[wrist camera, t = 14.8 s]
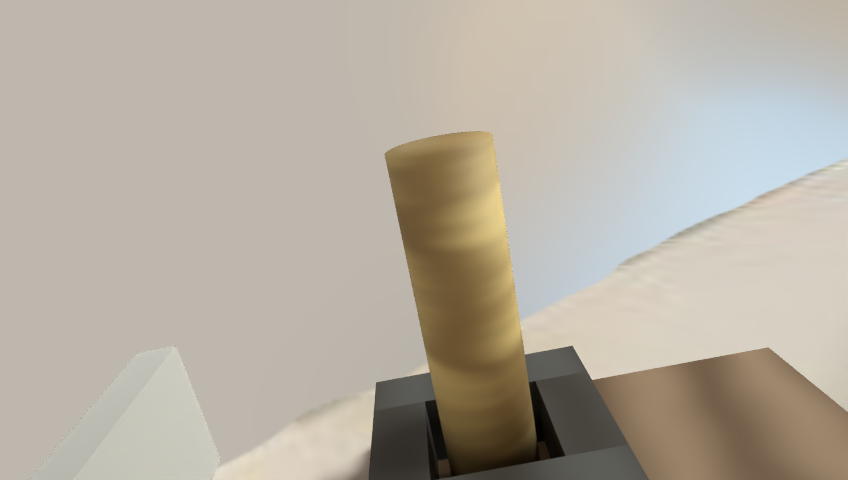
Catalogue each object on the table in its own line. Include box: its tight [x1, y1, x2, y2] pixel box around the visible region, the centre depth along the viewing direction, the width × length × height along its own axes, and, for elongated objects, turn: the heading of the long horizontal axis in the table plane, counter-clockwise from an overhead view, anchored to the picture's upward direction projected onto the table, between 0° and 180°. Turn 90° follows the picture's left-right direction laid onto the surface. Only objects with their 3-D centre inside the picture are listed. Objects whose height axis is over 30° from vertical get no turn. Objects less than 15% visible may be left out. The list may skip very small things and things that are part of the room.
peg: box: [385, 131, 540, 477], centre depth 24 cm, size 4×4×16 cm
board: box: [369, 346, 848, 480], centre depth 26 cm, size 22×14×5 cm, turn 92°
